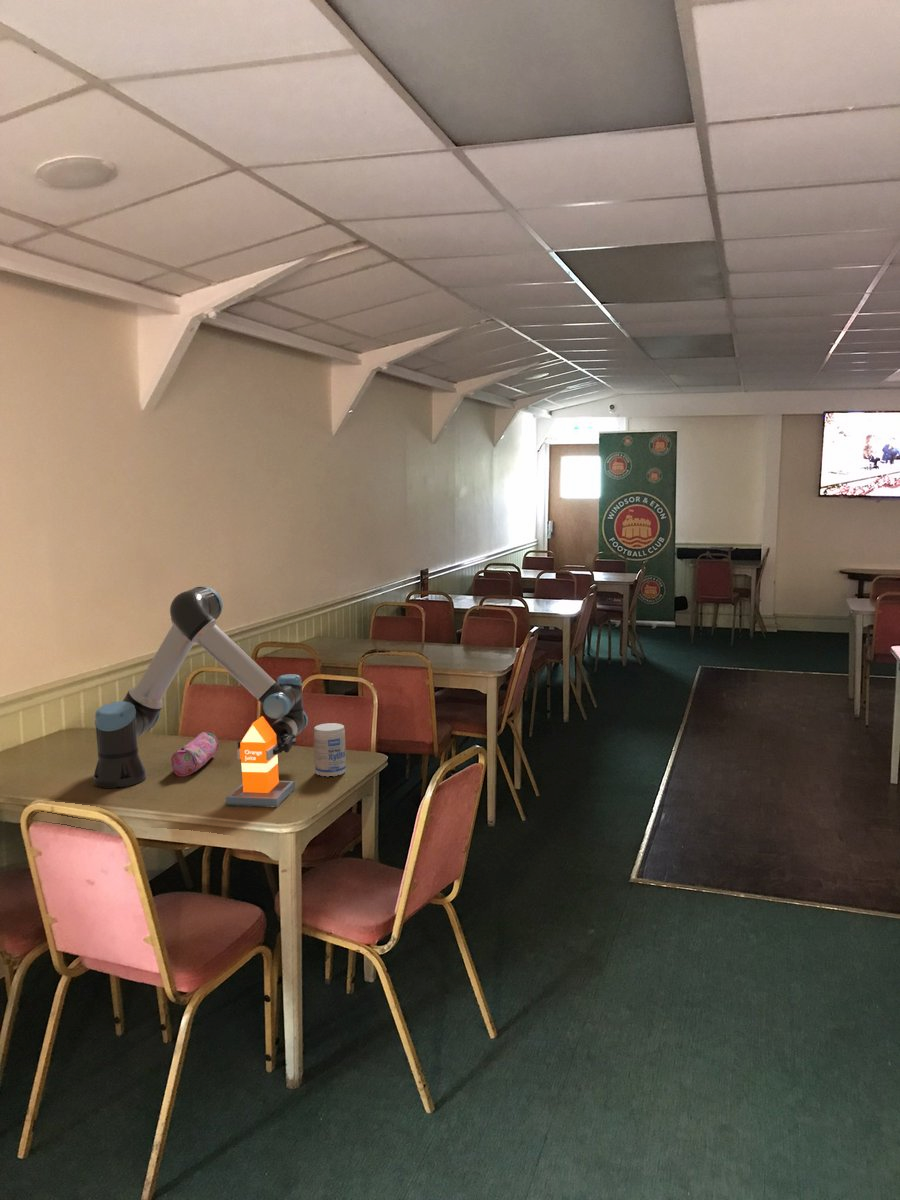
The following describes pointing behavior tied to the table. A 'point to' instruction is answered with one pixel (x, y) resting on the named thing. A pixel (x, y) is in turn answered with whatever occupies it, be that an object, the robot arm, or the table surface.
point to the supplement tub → (329, 749)
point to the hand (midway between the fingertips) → (252, 755)
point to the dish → (261, 795)
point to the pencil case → (194, 754)
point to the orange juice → (259, 758)
